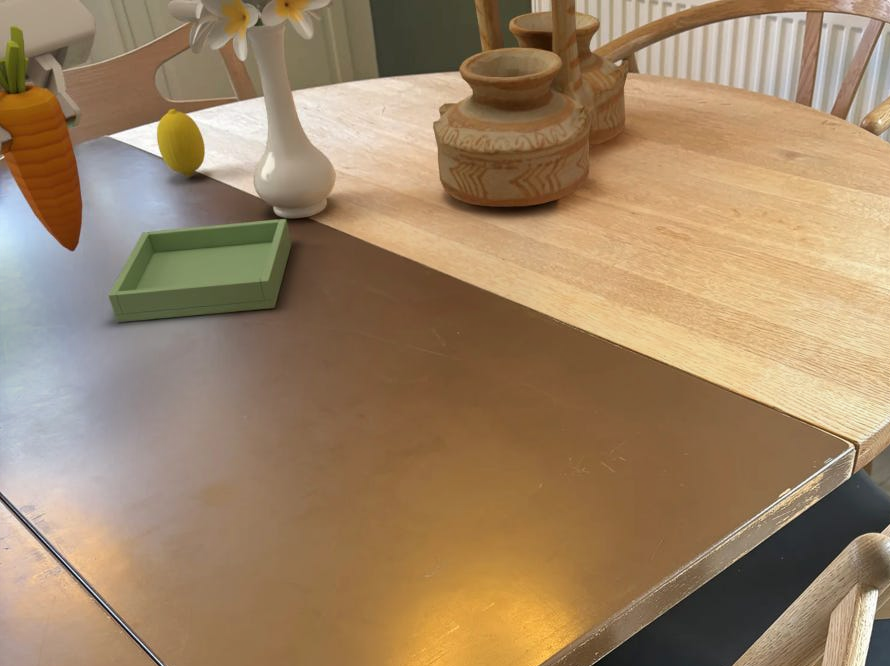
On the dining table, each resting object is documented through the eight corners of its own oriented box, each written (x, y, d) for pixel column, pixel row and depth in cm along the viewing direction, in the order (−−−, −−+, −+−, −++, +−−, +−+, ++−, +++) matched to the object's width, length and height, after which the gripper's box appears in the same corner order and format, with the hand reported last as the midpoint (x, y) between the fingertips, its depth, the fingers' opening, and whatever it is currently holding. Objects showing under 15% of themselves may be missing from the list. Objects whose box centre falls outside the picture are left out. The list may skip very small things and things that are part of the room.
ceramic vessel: (580, 220, 108) (576, -59, 91) (419, 214, 113) (386, -51, 96) (641, 118, 131) (647, -121, 114) (505, 116, 137) (491, -112, 119)
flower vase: (253, 186, 125) (197, -57, 108) (389, 193, 119) (353, -62, 102) (196, 227, 116) (127, -30, 99) (340, 237, 110) (292, -34, 93)
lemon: (177, 170, 131) (158, 103, 126) (217, 168, 131) (200, 101, 125) (161, 186, 128) (142, 117, 122) (203, 184, 127) (185, 115, 121)
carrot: (42, 269, 76) (-40, 44, 66) (37, 246, 80) (-43, 29, 70) (109, 254, 78) (38, 31, 67) (100, 233, 81) (31, 18, 71)
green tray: (117, 322, 99) (107, 295, 97) (150, 257, 111) (142, 232, 109) (274, 308, 99) (268, 280, 97) (291, 244, 110) (286, 218, 108)
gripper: (10, -27, 79) (134, 122, 81) (-243, 40, 67) (-89, 212, 69) (25, -96, 74) (157, 65, 76) (-246, -38, 62) (-79, 151, 64)
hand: (38, 136), depth 73 cm, fingers closed on carrot, 5 cm apart
